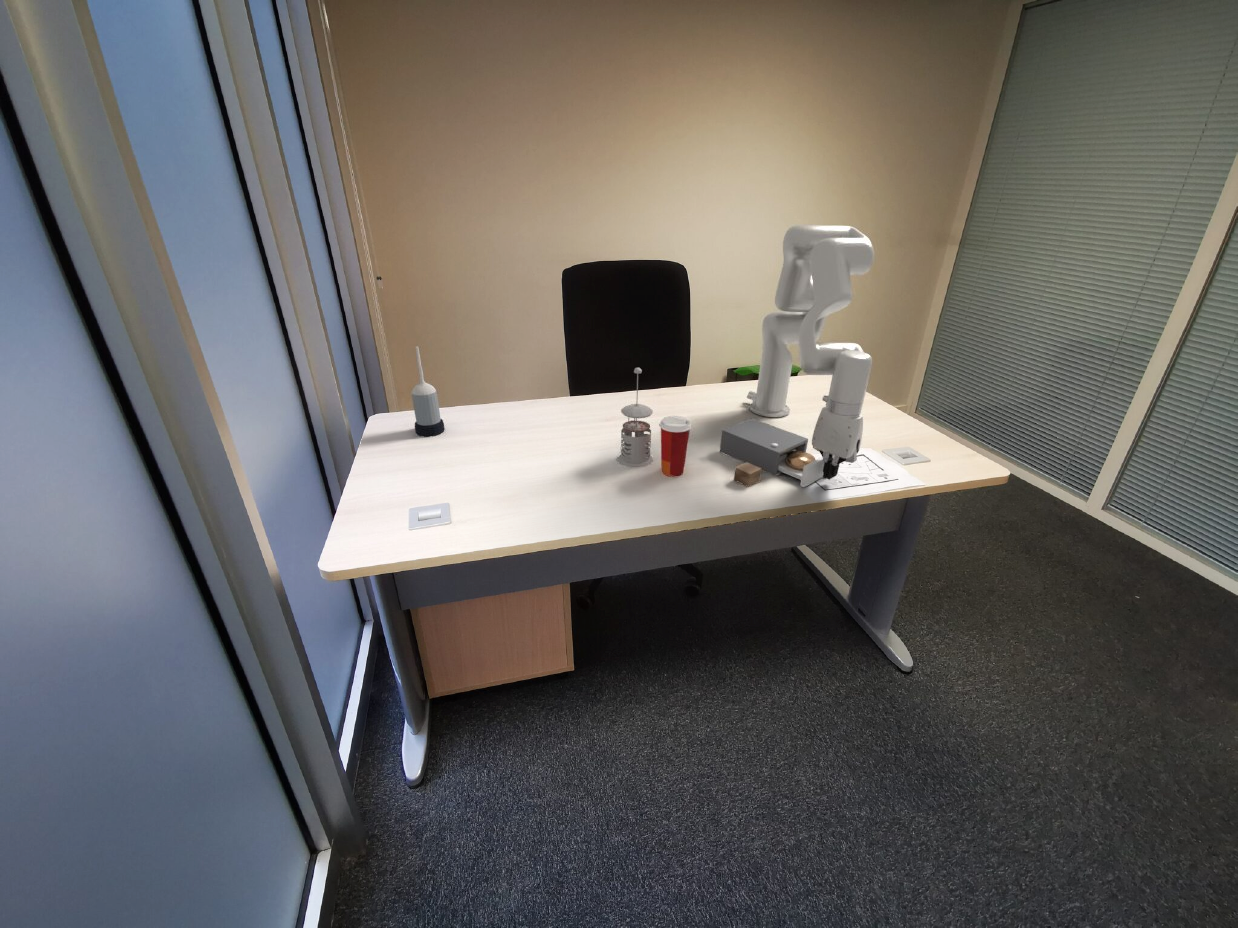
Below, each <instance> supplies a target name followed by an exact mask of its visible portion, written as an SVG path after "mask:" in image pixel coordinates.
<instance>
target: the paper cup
mask: <svg viewBox="0 0 1238 928" xmlns="http://www.w3.org/2000/svg"><path fill="white" fill-rule="evenodd" d="M658 426H659V428H660V463H661V467H660V468H661V469H660V470H661V473H662V474H663V475H664V476H666V477H668V478H669V477H671V478H678V477H681V476H682V475H684V472H685V466H686V465H685V464H686V458H687V451H688V443H689V438H690V431H691V428H692V425H691V422H690V420H689V419H688V417H687V418H686V417H684V416H680V415H669V416H668V415H667V416H666V417H664V418H662V419H661V421H660V422H659V424H658Z"/></svg>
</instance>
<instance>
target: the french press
mask: <svg viewBox="0 0 1238 928" xmlns="http://www.w3.org/2000/svg"><path fill="white" fill-rule="evenodd" d="M642 371H643V370H642V369H641V368H640V367H635V368H634V370H633V373H634V374H636V403H631V404H629V405H628V404H627V405H626V406H624V407H622V408H621V409H620V412H621V414H622V415H623V416H625V417H627V419H628V420H627V421H625V422H624V423H622V428H621V429H620V430H621V432H620V434H621V435H620V436H621V437H620V441H621V442H620V454H619V455H618V456H617V459H616V460H617V462H618V463H619V464H620V465H622V466H623V467H628V468H633V469H634V468H636V469H637V468H638V469H639V468H644V467H648V466H650V465H652V464H653V463H654V461H655V459H654V457H653V455H651V444H652V441H651V440H652V430H651V429H650V428H651V424H649V423H648V422H647V421H644V420H638V419H644V418H648V417H650V416H651V415H652V414H653V413H654V412H653V411H654V410H653V409H652V408H651V407H649V406H647V405H645V404H642V403H638V398H639V397H638V396H639V395H638V394H639V390H638V389H639V374H642ZM630 418H631V419H633V420H630ZM645 432H647V433H645ZM633 433H634V436H633ZM648 433H649V434H648Z"/></svg>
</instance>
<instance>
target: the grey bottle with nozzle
mask: <svg viewBox="0 0 1238 928" xmlns="http://www.w3.org/2000/svg"><path fill="white" fill-rule="evenodd" d="M415 353H416V359H417V360H416V361H417V367H418V372H419V383H418V384H416V385H415V386H414V387H413V388H412V390H411V399H412V404H413V410H414V415H415V416H414V417H415V423H414V431H415V434H417V436H419V437H421V436H424V437H423V438H430V436H432V437H436V436H440V435H441V433H442V434H443V433H444V432H445V431H446V430H445V429H446V428H445V422H444V420H443V419H442V418H441V413H440V407H439V406H440V405H439V398H438V394H437V393H438V392H437V389H436V388H435V387H434V386H433V385H432V384H430V383H428V382H426V381H425V380H424V372H423V367H422V361H421V360H422V359H421V355H420V350H419V346H415ZM444 430H445V431H444Z"/></svg>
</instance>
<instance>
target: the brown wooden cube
mask: <svg viewBox="0 0 1238 928" xmlns="http://www.w3.org/2000/svg"><path fill="white" fill-rule="evenodd" d="M762 471H763V470H762V469H761V468H759V467H757V466H755V465H752V464H750V463H748V462H746V463H744V462H743V463H742V464H739V465H738V466H735V467H734V476H733V480H734V481H735V482H738V483H740V484H741V485H744V486H746V487H748V488H749V487H751V486H754V485H756V484H757V483H759V482H761V475H762Z"/></svg>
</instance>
